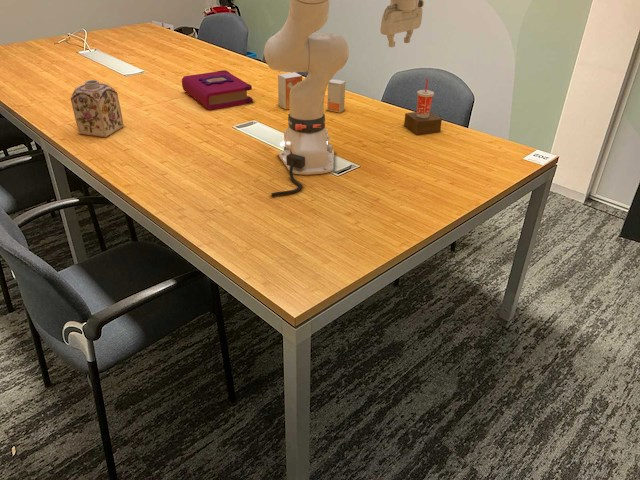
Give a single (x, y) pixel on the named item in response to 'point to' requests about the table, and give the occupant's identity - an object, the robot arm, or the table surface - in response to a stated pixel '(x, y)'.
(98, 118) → the decorative jar
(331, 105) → the cosmetic box
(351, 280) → the table surface
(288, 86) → the small box
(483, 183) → the table surface
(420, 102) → the beverage cup
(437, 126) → the walnut block
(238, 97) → the book
